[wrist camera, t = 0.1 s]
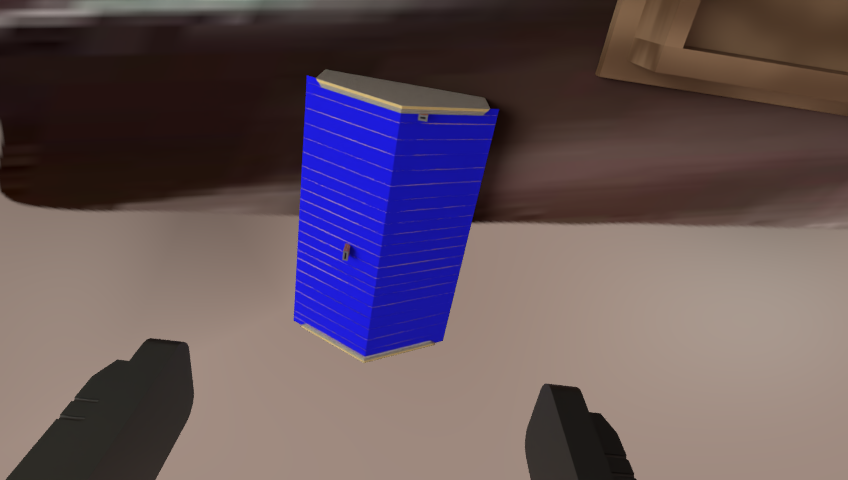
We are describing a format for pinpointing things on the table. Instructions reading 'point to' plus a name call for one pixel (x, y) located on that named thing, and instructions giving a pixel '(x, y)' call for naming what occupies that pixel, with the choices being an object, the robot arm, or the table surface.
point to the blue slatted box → (385, 210)
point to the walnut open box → (734, 49)
